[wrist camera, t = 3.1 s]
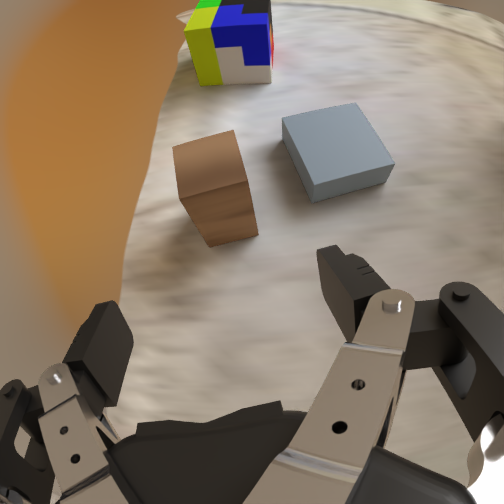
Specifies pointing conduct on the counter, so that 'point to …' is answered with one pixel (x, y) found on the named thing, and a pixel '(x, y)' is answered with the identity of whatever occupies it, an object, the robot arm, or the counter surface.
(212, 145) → the walnut block
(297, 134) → the slate plinth
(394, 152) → the counter surface
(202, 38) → the puzzle toy
